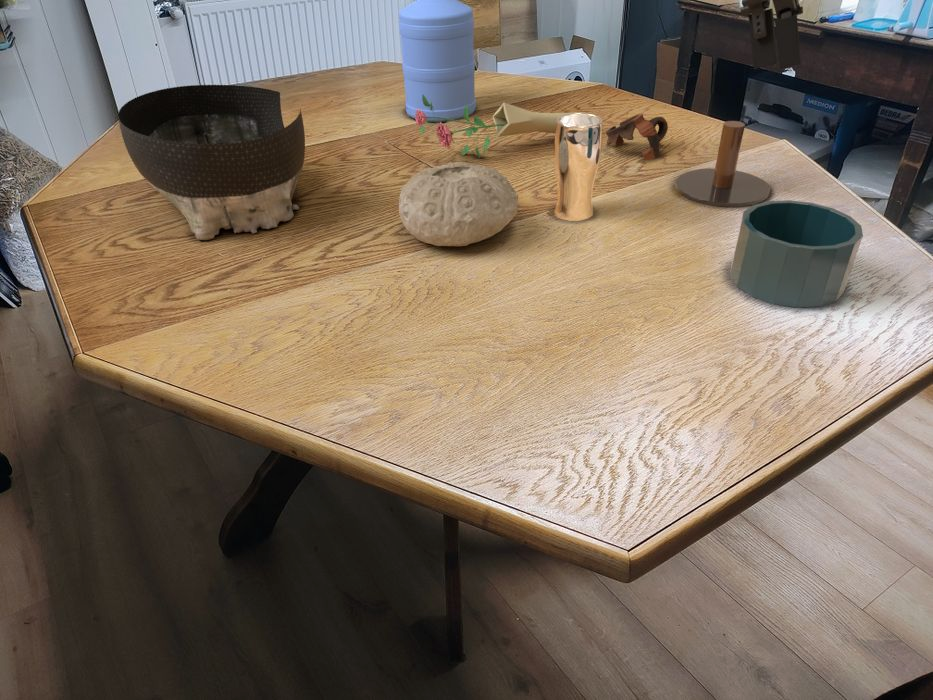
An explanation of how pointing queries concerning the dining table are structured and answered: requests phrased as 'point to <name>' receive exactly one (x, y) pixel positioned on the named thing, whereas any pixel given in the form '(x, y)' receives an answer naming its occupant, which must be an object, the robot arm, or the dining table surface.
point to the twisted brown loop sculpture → (645, 130)
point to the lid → (724, 176)
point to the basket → (217, 154)
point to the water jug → (438, 58)
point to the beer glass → (576, 163)
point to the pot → (795, 253)
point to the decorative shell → (457, 204)
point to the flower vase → (505, 121)
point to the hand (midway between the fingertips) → (778, 66)
